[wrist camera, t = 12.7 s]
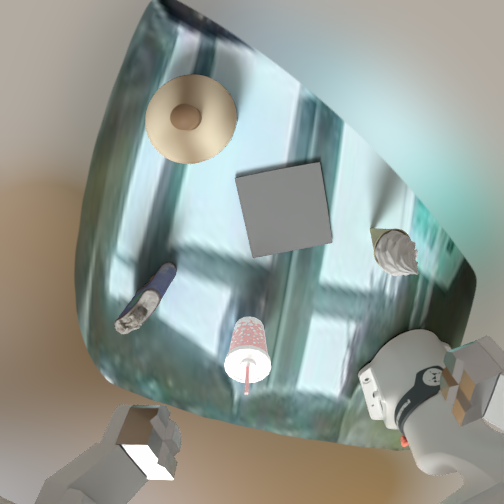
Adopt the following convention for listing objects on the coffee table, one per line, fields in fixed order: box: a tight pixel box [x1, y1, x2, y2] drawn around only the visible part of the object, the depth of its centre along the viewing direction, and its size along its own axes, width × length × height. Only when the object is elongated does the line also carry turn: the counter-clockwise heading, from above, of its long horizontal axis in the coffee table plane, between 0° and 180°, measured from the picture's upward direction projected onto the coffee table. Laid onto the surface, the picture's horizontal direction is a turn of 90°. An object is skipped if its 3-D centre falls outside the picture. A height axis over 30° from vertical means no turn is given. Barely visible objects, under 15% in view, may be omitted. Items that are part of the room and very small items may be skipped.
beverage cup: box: [224, 316, 271, 395], centre depth 42 cm, size 6×6×14 cm
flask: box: [114, 262, 176, 334], centre depth 41 cm, size 9×3×11 cm, turn 134°
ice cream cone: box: [370, 228, 419, 276], centre depth 35 cm, size 5×5×15 cm
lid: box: [145, 74, 237, 164], centre depth 32 cm, size 10×10×4 cm
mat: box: [235, 162, 332, 258], centre depth 41 cm, size 11×11×1 cm
